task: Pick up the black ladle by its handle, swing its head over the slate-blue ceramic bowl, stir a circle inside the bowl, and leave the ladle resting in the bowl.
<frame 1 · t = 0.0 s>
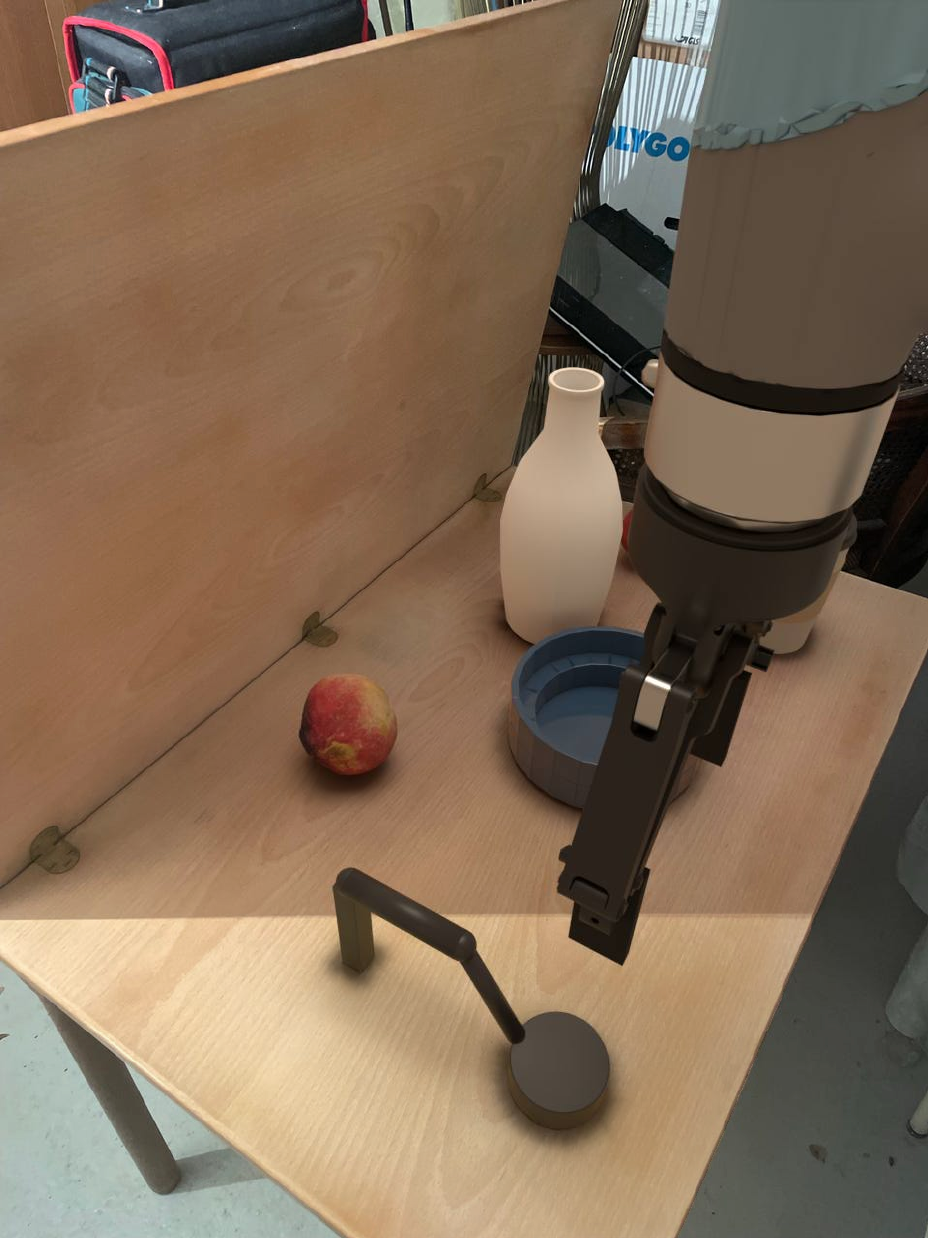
hand: (654, 840, 46), 19 cm above the table, tool pointing down, fingers open, 13 cm apart
bottle: (551, 621, 89), on the table
bowl: (603, 740, 77), on the table
coffee cup: (769, 631, 88), on the table
red pomegranate: (642, 562, 97), on the table
fruit: (351, 761, 75), on the table
ladle: (556, 1077, 55), on the table
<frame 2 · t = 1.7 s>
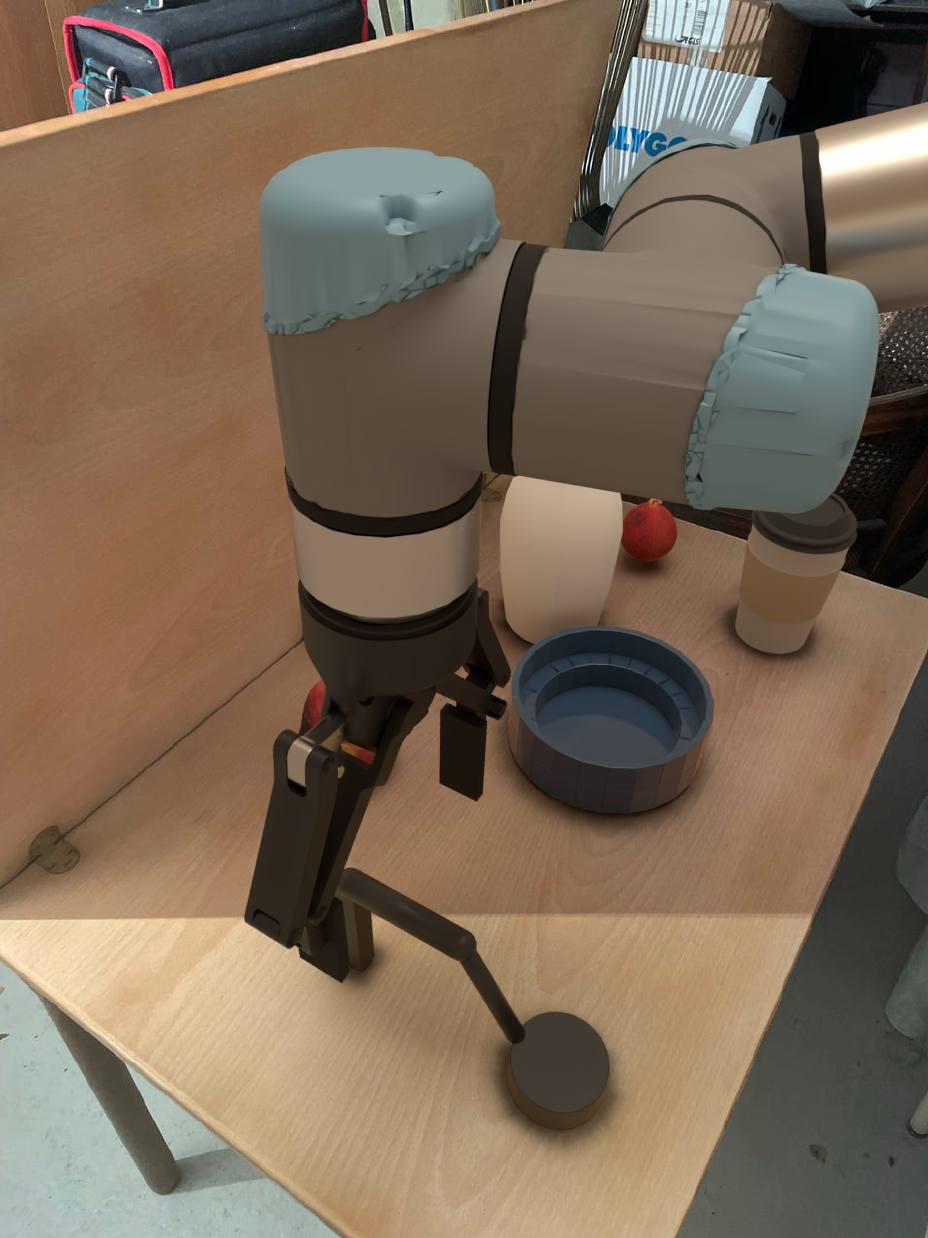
hand: (399, 869, 51), 13 cm above the table, tool pointing down, fingers open, 13 cm apart
nothing on the table moved.
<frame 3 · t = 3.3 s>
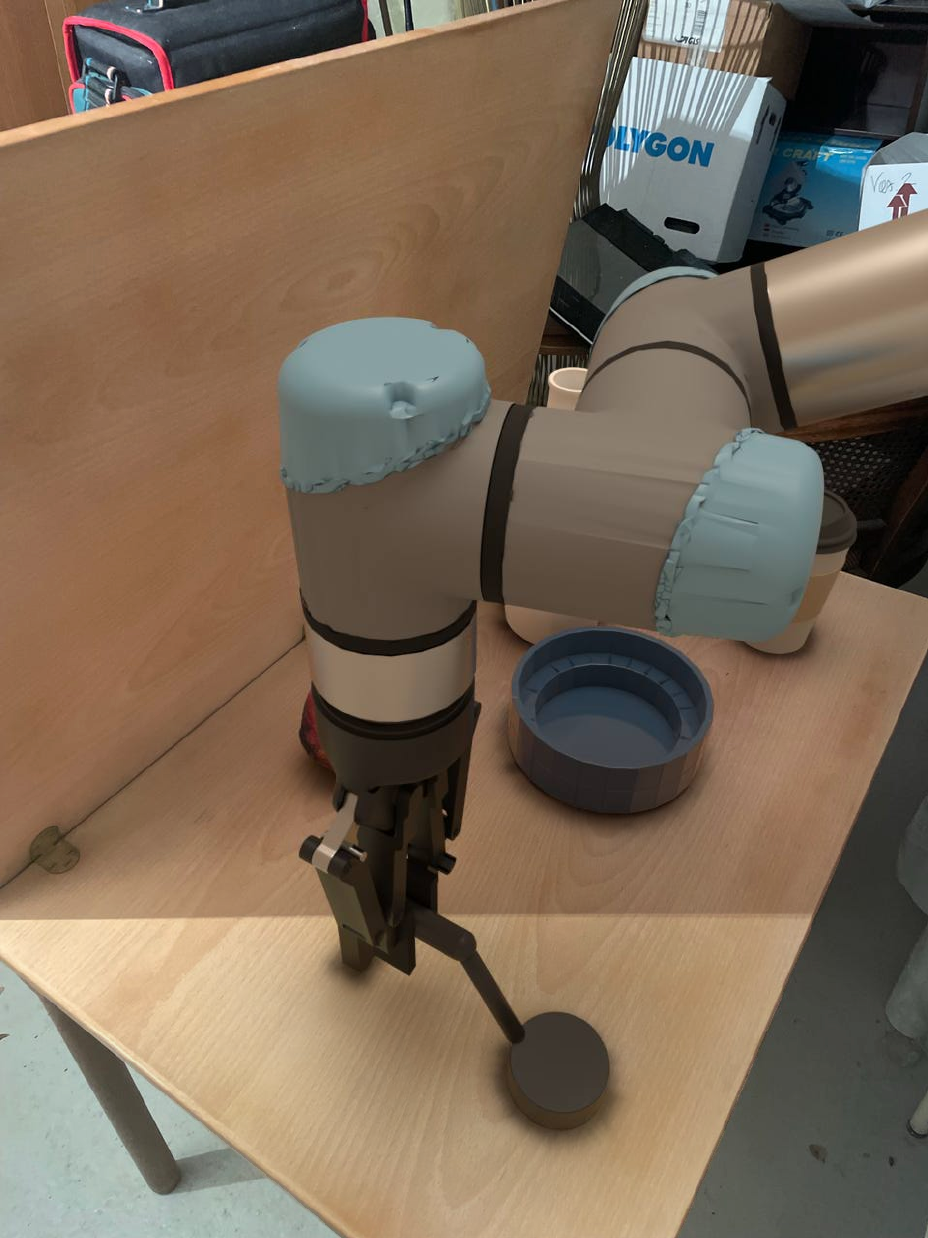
hand: (405, 944, 56), 5 cm above the table, tool pointing down, fingers closed on ladle, 2 cm apart
ladle: (556, 1077, 55), on the table, touching gripper
everything else where it was.
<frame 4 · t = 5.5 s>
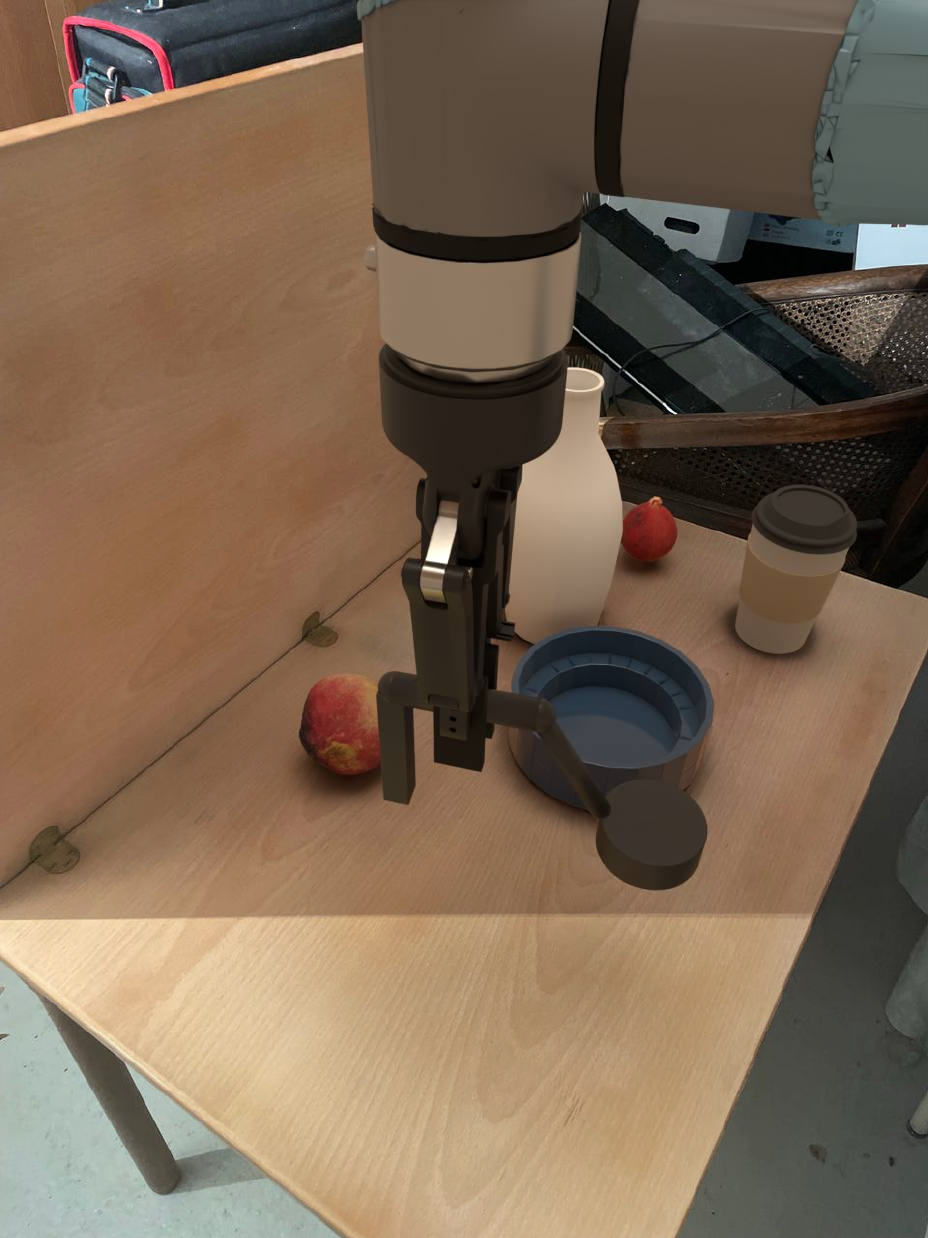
hand: (464, 745, 50), 19 cm above the table, tool pointing down, fingers closed on ladle, 2 cm apart
ladle: (647, 845, 52), point 14 cm above the table, touching gripper
everything else where it was.
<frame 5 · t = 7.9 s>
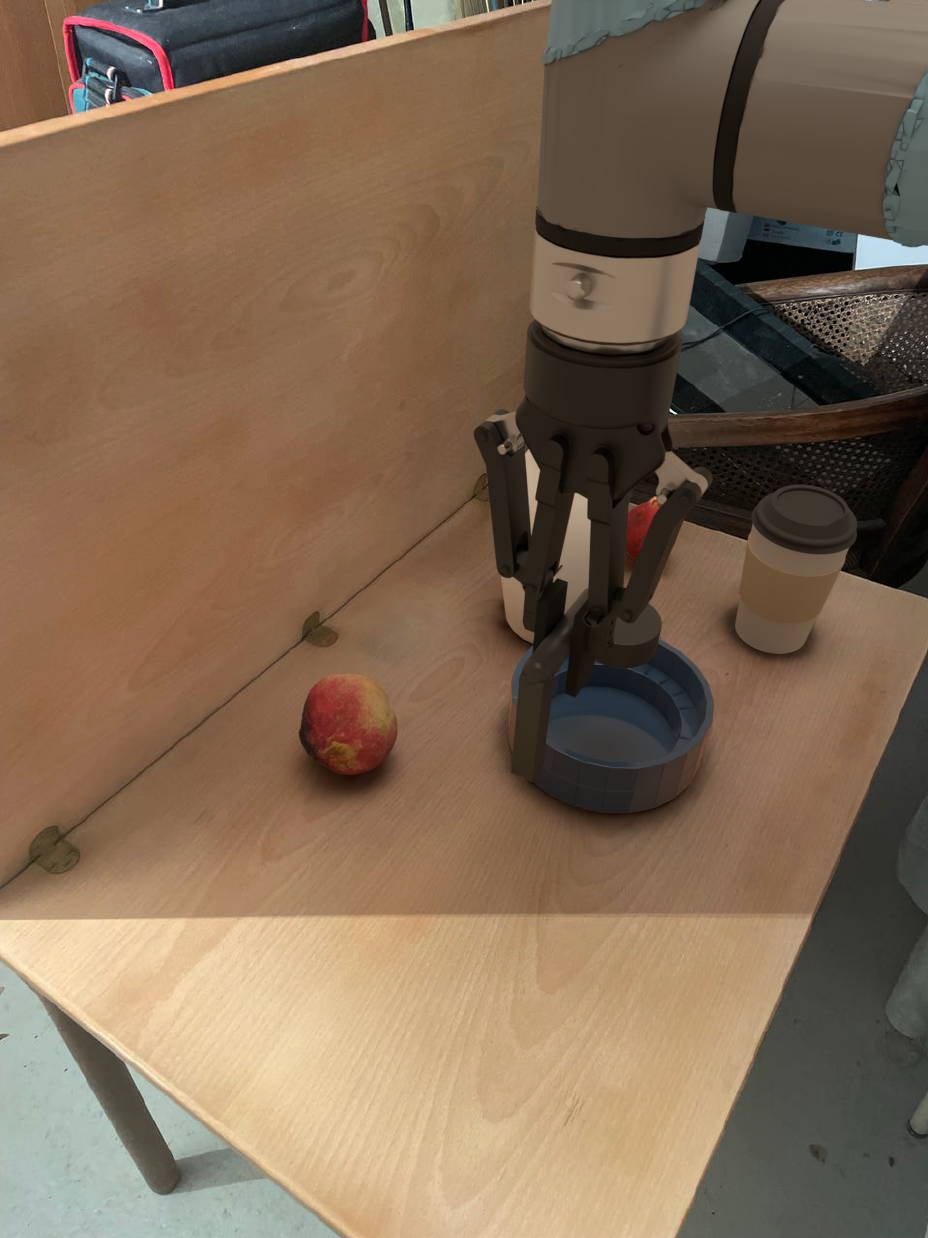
hand: (561, 675, 59), 17 cm above the table, tool pointing down, fingers closed on ladle, 2 cm apart
ladle: (617, 641, 69), point 11 cm above the table, touching gripper
everything else where it was.
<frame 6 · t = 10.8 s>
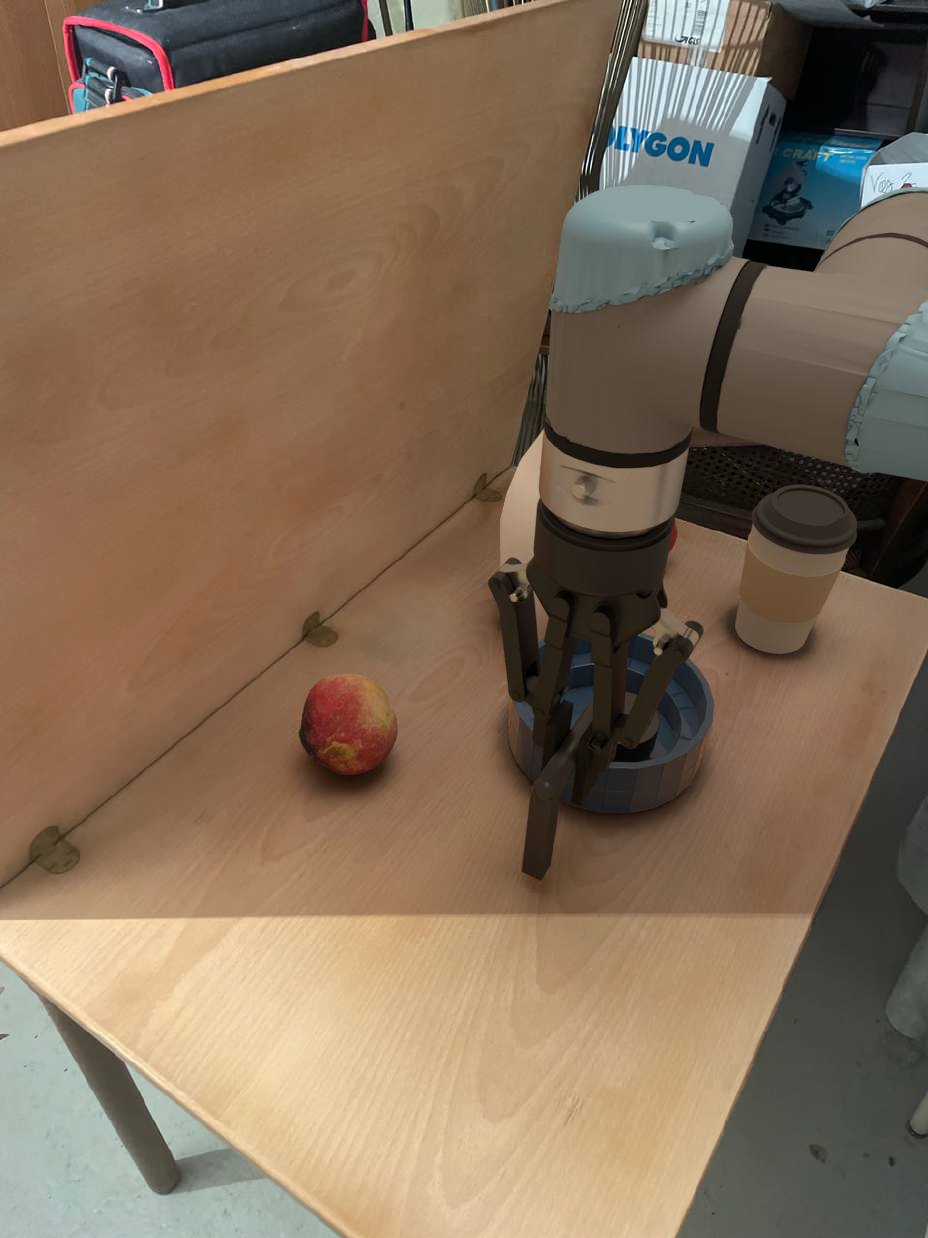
hand: (568, 783, 64), 7 cm above the table, tool pointing down, fingers closed on ladle, 2 cm apart
ladle: (618, 736, 75), point 2 cm above the table, touching gripper
everything else where it was.
when the fingers open (6 cm above the table, at t = 12.5 s): ladle stays where it is, resting on bowl.
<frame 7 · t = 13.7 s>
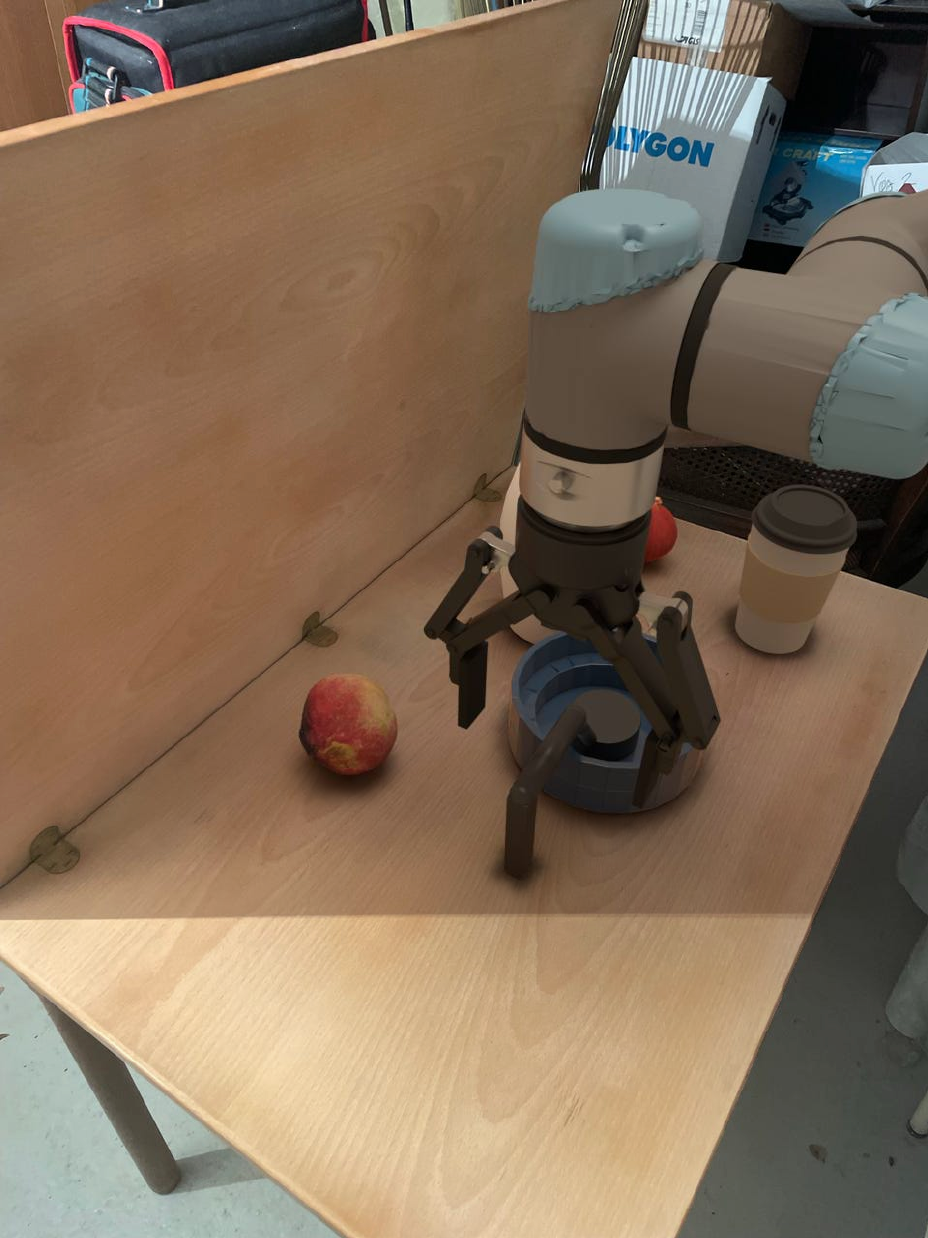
hand: (554, 753, 64), 9 cm above the table, tool pointing down, fingers open, 13 cm apart
ladle: (602, 733, 76), point 1 cm above the table, touching bowl
everything else where it was.
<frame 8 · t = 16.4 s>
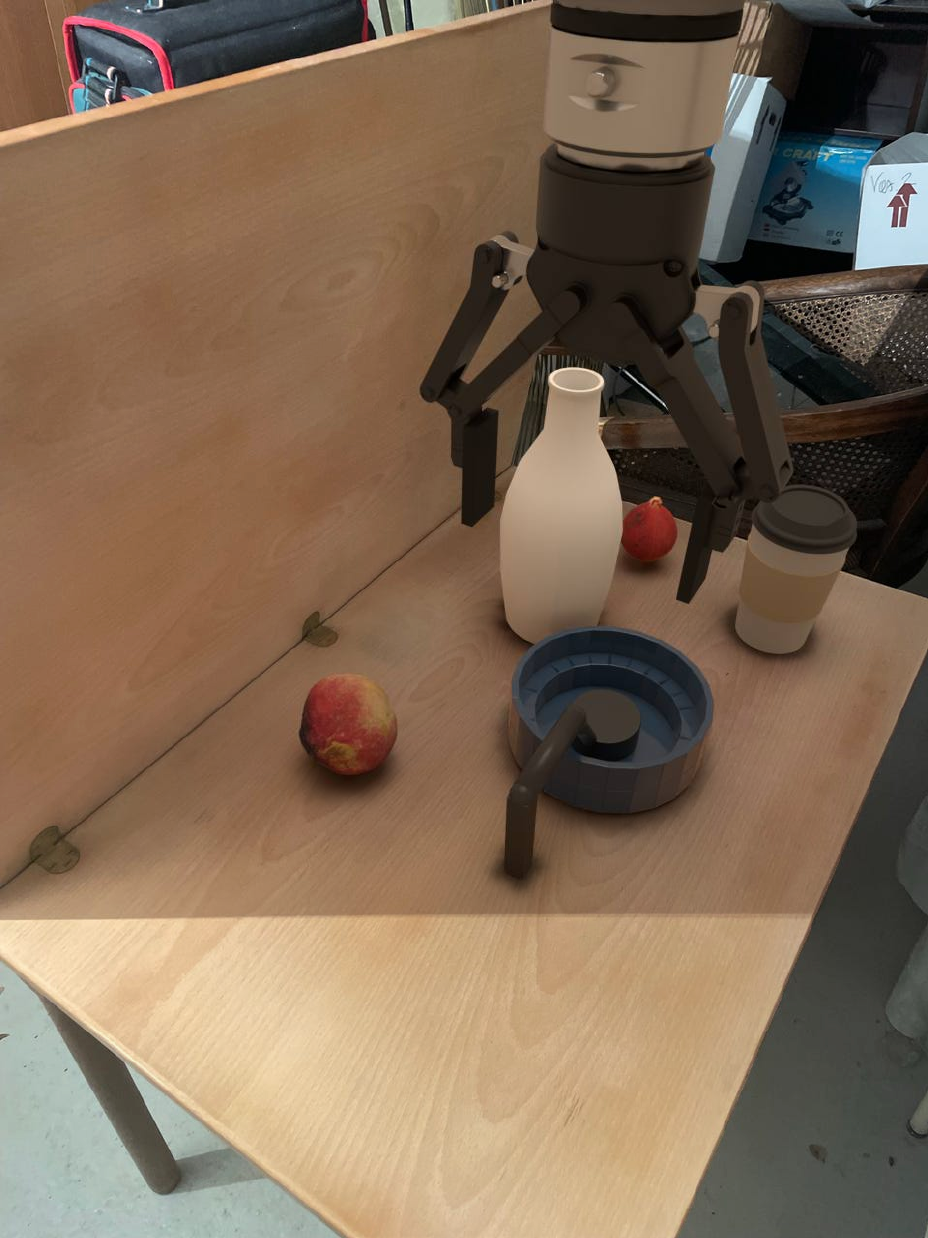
hand: (579, 550, 52), 27 cm above the table, tool pointing down, fingers open, 13 cm apart
nothing on the table moved.
at the end: ladle inside the target area in the bowl (0.2 cm from its centre), point 0.7 cm above the bowl's base; ladle touching bowl, table; the gripper is holding nothing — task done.
